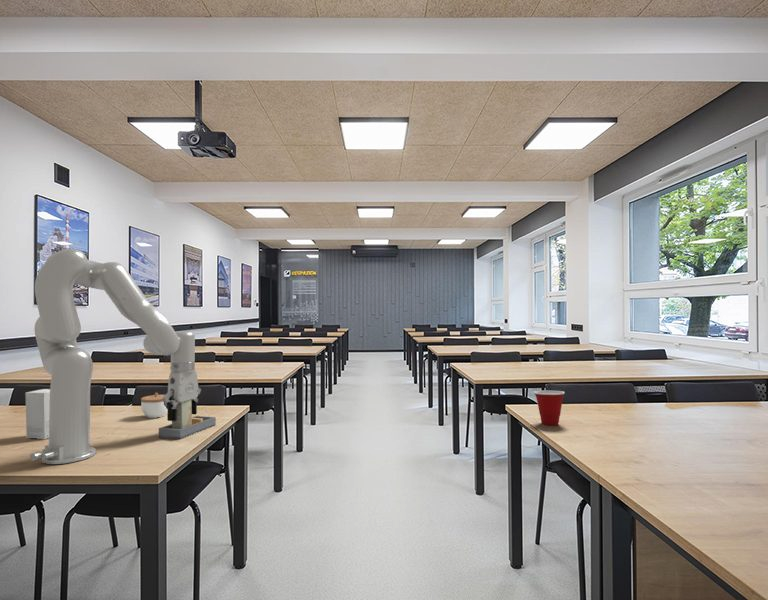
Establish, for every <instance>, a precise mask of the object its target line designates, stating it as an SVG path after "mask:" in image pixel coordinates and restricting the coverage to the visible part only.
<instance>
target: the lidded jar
mask: <svg viewBox="0 0 768 600" xmlns="http://www.w3.org/2000/svg"><path fill="white" fill-rule="evenodd" d="M165 395H166V394H159V393H158V392H155V393H154V394H153V395H147V396H143V397H141V398H140V402H141V407H140V408H141V412H142V413H143V414H144V415H145V417H148V418H147V419H158V418H157V417H160V418H163V417H165V416H164V415H167V414H168V409H166V406H165V405H164V402H163V400H162V398H163V397H164V396H165ZM162 416H163V417H162Z"/></svg>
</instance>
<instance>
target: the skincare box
mask: <svg viewBox="0 0 768 600" xmlns="http://www.w3.org/2000/svg"><path fill="white" fill-rule="evenodd" d="M24 395H25V426H26V429H25V431H26V438H27V437H28V438H27V439H30V438H37V439H36V440H48V439H49V410H50V405H49V400H50V388H42V389H36V390H32V391H28V392H27V391H26V392H25V394H24ZM47 438H48V439H47Z"/></svg>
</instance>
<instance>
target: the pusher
mask: <svg viewBox="0 0 768 600" xmlns="http://www.w3.org/2000/svg"><path fill="white" fill-rule="evenodd" d="M201 421H203V419H202V418H192V425H193V424H196V423H199V422H201Z"/></svg>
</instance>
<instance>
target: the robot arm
mask: <svg viewBox="0 0 768 600" xmlns="http://www.w3.org/2000/svg"><path fill="white" fill-rule="evenodd" d="M74 285H77V286H78V285H79V286H82V287H87V288H91V289H96V290H100V291H104V292H105V293H106V296H108V297H109V299H110V300H111V302H112V303H113V304H114V306H115V307H116V309H117V310H118V312H119V313H120V314H121V315H122V316H123V317H124V318H126V319H127V320H129V321H130V322H132V323H133V324H135V325H136V326H138V327H139V328H140V329H141V330H142V331H143V332H144V333H145V334H146V336H145V337H144V339H143V343H142V345H143V348H144V349H145V350H146V351H147V352H149V354H152V355H153V354H154V355H161V356H170V366H169V368H170V372H169V376H168V377H169V378H168V383H167V393H165V394H164V395H165V396H164V397H163V398H162V400H163V402H164V405H165V406H166V409H168V412H167V413H166V415H167V419H166V420H167V421H168V422H172V421H176V420H177V409H175V408H176V406H177V404H178V402H185V401H188V400H191V405H192V415H197V413H198V412H197V411H198V409H197V408H198V407H197V405H198V402H199V397H201V396H200V394H201V392H202V388H200V387H199V379H198V374H197V373H198V372H197V370H196V369H195V365H196V364H195V363H196V362H195V360H196V358H195V355H196V354H195V353H196V347H195V345H196V343H195V342H196V337H195V336H196V335H195V333H194V332H192V331H175V329H174V328H173V326H172V325H171V323H170V322H169V321H168V320H167V318H166V317H165V316H164V315H163V314H162V313H161V312H160V311H159V310H158V309H157V308H156V307H155V306H154V305H153V304H152V303H151V302H150V301H149V300H148V299H147V297H146V295H145V294H144V293H143V291H142V290H141V289H140V287H139V286H138V284H137V282H136V281H135V279H134V278H133V277H132V275H131V274H130V272H129V271H128V270H127V268H126V267H125V266H124V265H122V264H121V263H119V262H115V261H111V262H110V261H109V262H108V261H107V262H104V263H103V262H102V263H101V262H97V261H93V260H89V259H88V258H87V256H86V255H85V253H84V252H82V251H80V249H77V248H64V249H61V250H59V251H57V252H56V251H55V252H54V253H52V254H51V255H50V256H48V258H47V259H46V260H45V262H44V263H43V264H42V265H41V267H40V269H39V271H38V272H37V275H36V278H35V282H34V294H35V301H36V304H37V305H36V306H37V310H38V315H39V317H38V318H37V320H36V321H35V323H34V336H35V340H36V344H37V348H38V351H39V352H38V353H39V357H40V359H41V364H42V366H43V369H44V370H45V371H46V373H48V374H49V375H51V378H50V379H51V380H50V387H49V389H50V400H49V405H50V410H49V438H48V444H47V445H44V448H43V449H42V450H41V451H37V452H33V453H31V454H30V456H29V457H30V460H31V461H32V462H34V461H37V460H40V459H41V463H43V464H45V463H46V465H61V464H63V465H64V464H70V463H75V462H80V461H83V460H86V459H89V458H91V457H93V456H94V455H95V454H96V453H97V449H96V448H95V447H93V446H90V443H91V442H90V439H91V438H90V437H91V436H90V435H91V428H90V427H91V383H92V376H93V370H94V369H93V368H94V367H93V366H94V365H93V360H92V357H91V355H90V354H89V353H88V352H87V351H86V350H85V349H83V348H79V346H78V342H77V338H78V337H79V335H80V334H81V329H82V326H81V322H80V318H79V315H78V311H77V307H76V306H77V305H76V303H75V298H74V290H73V289H74ZM172 403H173V405H172Z"/></svg>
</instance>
